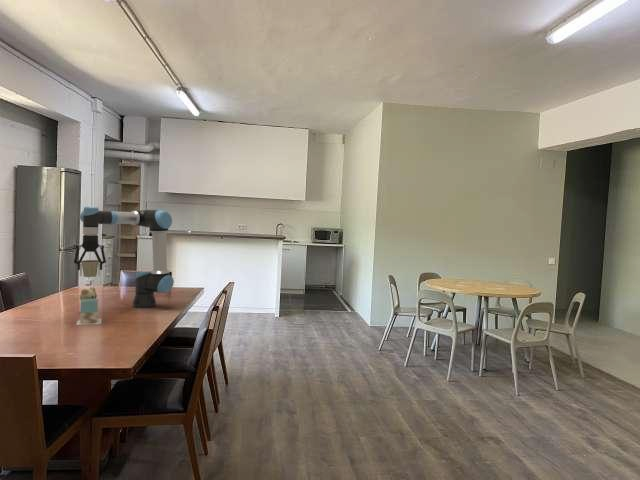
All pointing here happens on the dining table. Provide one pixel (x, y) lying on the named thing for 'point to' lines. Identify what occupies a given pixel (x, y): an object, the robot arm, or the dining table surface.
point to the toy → (88, 294)
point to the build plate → (89, 323)
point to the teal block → (89, 305)
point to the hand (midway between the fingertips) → (89, 275)
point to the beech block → (89, 317)
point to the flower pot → (90, 267)
